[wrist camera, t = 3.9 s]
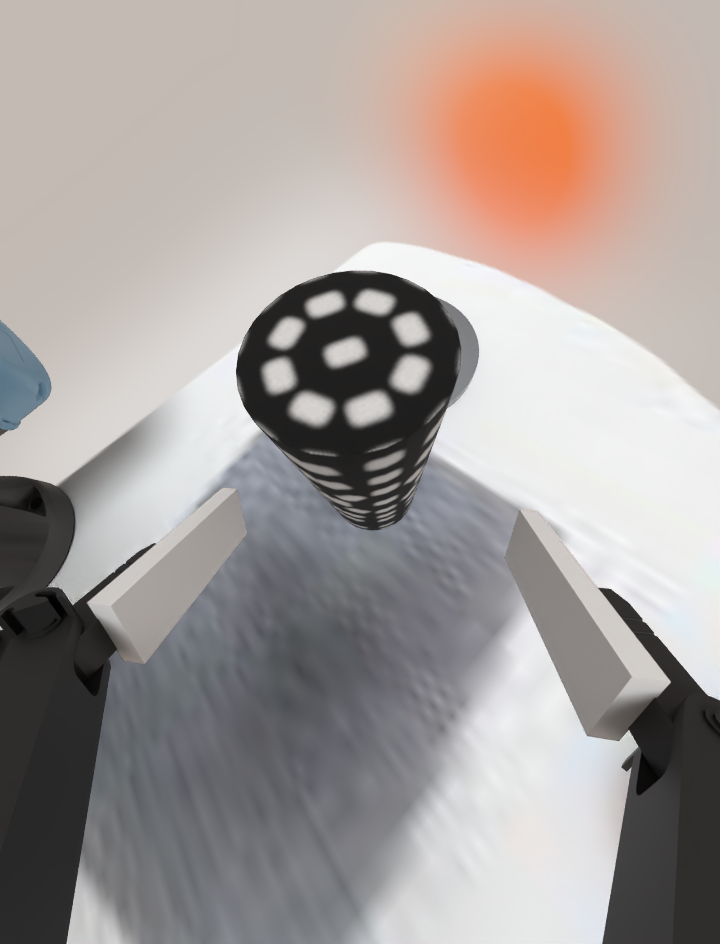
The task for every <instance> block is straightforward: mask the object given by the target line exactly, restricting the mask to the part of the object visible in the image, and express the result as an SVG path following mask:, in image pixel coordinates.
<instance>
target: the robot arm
mask: <svg viewBox="0 0 720 944" xmlns="http://www.w3.org/2000/svg"><path fill="white" fill-rule="evenodd" d="M50 392H51V381H50V378H49V376H48V374H47V372H46V370H45V368H44V367H43V365H42V364H41V362H40V361H39V360H38V359H37V357H36V356H35V355H34V354H33V353H32V351H31V350H30V349H29V348H28V347H27V346H26V345H25V344H24V343H23V342H22V341H21V340H20V339H19V338H18V337H17V336H16V335H15V334H14V333H13V332H12V331H11V330H10V329H9V328H8V327H7V326H6V325H5V324H4V323H2V322H1V320H0V435H2V434H3V433H5V432H6V431H8V430H14V429H16V428H17V427H18V426H19V424H20V421H21V420H22V419H23V418H24V417H26V416H27V415H28V414H29V413H31V412H32V411H33V410H34V409H36V408H37V407H38V406H39V405H41V404H42V403H43V402H44V401H45V400H46V399H47V398H48V396H49V395H50ZM73 527H74V516H73V510H72V506H71V504H70V501H69V499H68V498H67V496H66V495H65V493H64V492H63V491H62V490H61V489H59V488H58V487H56V486H54V485H52V484H50V483H46V482H42V481H38V480H34V479H30V478H25V477H17V476H0V626H1V627H2V629H3V630H0V944H66V942H67V936H68V930H69V924H70V918H71V911H72V905H73V899H74V893H75V886H76V880H77V874H78V868H79V862H80V855H81V849H82V843H83V837H84V830H85V824H86V818H87V812H88V806H89V799H90V793H91V787H92V781H93V775H94V768H95V762H96V756H97V750H98V743H99V737H100V731H101V725H102V719H103V712H104V706H105V700H106V694H107V688H108V681H109V675H110V669H111V665H110V661H109V659H108V658H109V657H110V656H111V655H112V654H113V653H114V652H115V651H116V650H117V651H118V652H119V654H120V656H121V657H122V659H123V660H124V661H129V662H135V663H141V664H145V663H146V662H147V660H148V659H149V658H150V657H151V655H152V654H153V653H154V652H155V650H156V649H157V648H158V646H159V645H160V644H161V643H162V641H163V640H164V639H165V638H166V636H167V635H168V634H169V632H170V631H171V630H172V629H173V627H174V626H175V625H176V624H177V622H178V621H179V620H180V618H181V617H182V616H183V615H184V613H185V612H186V611H187V610H188V608H189V607H190V606H191V604H192V603H193V602H194V601H195V599H196V598H197V597H198V596H199V594H200V593H201V592H202V590H203V589H204V588H205V587H206V585H207V584H208V583H209V581H210V580H211V579H212V578H213V576H214V575H215V574H216V573H217V571H218V570H219V569H220V567H221V566H222V565H223V564H224V562H225V561H226V560H227V559H228V557H229V556H230V555H231V553H232V552H233V551H234V550H235V548H236V547H237V546H238V545H239V543H240V542H241V541H242V539H243V538H244V537H245V536H246V534H247V531H246V527H245V522H244V518H243V514H242V509H241V505H240V500H239V496H238V491H237V489H229V488H222V489H221V490H220V491H218V492H217V493H216V494H215V495H214V496H212V497H211V498H210V499H209V500H208V501H207V502H205V503H204V504H203V505H202V506H201V507H199V508H198V509H197V510H196V511H195V512H194V513H192V514H191V515H190V516H189V517H188V518H186V519H185V520H184V521H183V522H182V523H181V524H179V525H178V526H177V527H176V528H175V529H173V530H172V531H171V532H170V533H169V534H168V535H166V536H165V537H164V538H163V539H162V540H160V541H159V542H158V543H157V544H156V543H153V544H152V545H150V546H148V547H146V548H144V549H142V550H141V551H139V552H137V553H136V554H135V555H134V556H133V557H131V558H130V559H129V560H128V561H126V564H123V565H122V566H120V567H119V568H118V569H117V570H116V572H115V573H112V574H111V575H109V576H108V577H107V578H106V579H104V580H103V581H102V582H101V583H100V584H98V585H97V586H96V587H95V588H93V589H92V590H91V591H90V592H89V593H87V594H86V595H85V596H84V597H82V598H81V599H80V600H79V601H78V602H76V603H75V604H74V605H72V604H71V602H70V601H69V599H68V598H67V596H66V595H65V594H64V592H63V591H62V590H61V589H59V588H55V587H49V588H45V587H46V586H47V585H48V584H49V582H50V581H51V580H52V579H53V577H54V576H55V574H56V573H57V571H58V570H59V568H60V566H61V565H62V563H63V561H64V559H65V557H66V554H67V552H68V549H69V546H70V543H71V539H72V535H73ZM505 559H506V561H507V564H508V566H509V568H510V570H511V572H512V574H513V577H514V579H515V581H516V583H517V585H518V587H519V590H520V592H521V594H522V596H523V598H524V600H525V603H526V605H527V607H528V609H529V611H530V614H531V616H532V618H533V620H534V622H535V624H536V627H537V629H538V631H539V633H540V635H541V637H542V640H543V642H544V644H545V646H546V648H547V650H548V653H549V655H550V657H551V659H552V661H553V663H554V666H555V668H556V670H557V672H558V674H559V676H560V679H561V681H562V683H563V685H564V687H565V689H566V692H567V694H568V696H569V698H570V700H571V702H572V705H573V707H574V709H575V711H576V713H577V715H578V718H579V720H580V722H581V724H582V726H583V728H584V731H585V733H586V735H587V736H591V737H597V738H603V739H609V740H615V741H619V740H620V739H621V738H622V737H623V736H624V735H625V733H626V732H627V731H628V730H629V731H630V732H631V734H632V736H633V737H634V739H635V741H636V743H637V744H638V746H639V747H638V748H637V749H636V750H635V751H634V752H633V753H632V754H631V755H630V756H629V757H628V758H627V759H626V760H625V762H624V763H623V765H622V768H623V769H624V770H625V771H628V770H629V769H630V768H631V767H632V769H631V775H630V781H629V787H628V793H627V799H626V805H625V811H624V817H623V823H622V829H621V835H620V841H619V847H618V853H617V859H616V865H615V871H614V877H613V883H612V889H611V895H610V901H609V907H608V913H607V919H606V925H605V931H604V937H603V943H602V944H720V701H719V700H717V699H715V698H713V697H710V696H708V695H707V694H706V693H705V692H704V691H703V690H702V689H701V688H700V686H699V685H698V684H697V683H696V682H695V681H694V679H693V678H692V677H691V676H690V675H689V673H688V672H687V671H686V670H685V669H684V668H683V666H682V665H681V664H680V663H679V662H678V660H677V659H676V658H675V657H674V656H673V655H672V653H671V652H670V651H669V650H668V649H667V647H666V646H665V645H664V644H663V643H662V642H661V640H660V639H659V638H658V637H657V636H655V635H654V632H653V631H652V630H651V629H650V627H649V626H648V625H647V624H646V623H645V622H643V621H642V618H641V617H640V616H639V614H638V613H637V612H636V611H635V610H634V609H633V607H632V606H631V605H630V604H629V603H628V602H627V601H625V600H624V599H623V598H622V597H620V596H619V595H618V594H616V593H615V592H614V591H613V590H611V589H605V588H598V587H597V586H596V585H595V583H594V582H593V581H592V580H591V578H590V577H589V576H588V574H587V573H586V572H585V571H584V569H583V568H582V567H581V565H580V564H579V563H578V561H577V560H576V559H575V558H574V556H573V555H572V554H571V552H570V551H569V550H568V549H567V547H566V546H565V545H564V543H563V542H562V541H561V540H560V538H559V537H558V536H557V534H556V533H555V532H554V531H553V529H552V528H551V527H550V525H549V524H548V523H547V522H546V520H545V519H544V518H543V516H542V515H541V514H540V512H539V511H532V510H519V513H518V516H517V519H516V523H515V526H514V529H513V532H512V536H511V539H510V542H509V546H508V549H507V552H506V555H505Z"/></svg>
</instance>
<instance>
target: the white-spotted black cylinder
mask: <svg viewBox="0 0 720 944" xmlns="http://www.w3.org/2000/svg"><path fill="white" fill-rule="evenodd" d="M460 367H461V344H460V339H459V334H458V330H457V328H456V326H455V324H454V322H453V320H452V318H451V315H450V314H449V313H448V311H447V310H446V309H445V308H444V306H443V305H442V304H441V303H440V301H439V300H438V299H436V298H435V297H434V296H433V295H432V294H430V293H429V292H428V291H427V290H425V289H424V288H422V287H420V286H418V285H417V284H415V283H413V282H411V281H409V280H407V279H404V278H401V277H398V276H395V275H392V274H387V273H381V272H375V271H346V272H338V273H331V274H328V275H324V276H320V277H317V278H313V279H311V280H309V281H306V282H304V283H302V284H299V285H297V286H295V287H294V288H292V289H290V290H289V291H287V292H285V293H284V294H282V295H280V296H279V297H278V298H277V299H276V300H274V301H273V302H272V303H271V304H270V305H268V306H267V307H266V308H265V309H264V310H263V311H262V313H261V314H260V315H259V316H258V317H257V318H256V319H255V321H254V322H253V323H252V325H251V327H250V328H249V330H248V332H247V334H246V335H245V337H244V340H243V342H242V345H241V348H240V351H239V353H238V360H237V368H236V377H237V386H238V391H239V394H240V397H241V400H242V402H243V405H244V407H245V409H246V410H247V412H248V413H249V415H250V416H251V418H252V419H253V421H254V422H255V423H256V424H257V425H258V427H259V428H260V429H261V430H262V431H263V432H264V433H265V434H266V435H267V436H268V437H269V438H270V439H271V440H272V442H273V443H274V444H275V445H276V446H277V447H278V448H279V449H280V450H281V451H282V452H283V453H284V454H285V455H286V456H287V458H288V459H289V460H290V461H291V462H292V463H293V464H294V465H295V466H296V467H297V468H298V469H299V470H300V471H301V473H302V474H303V475H304V476H305V477H306V478H307V479H308V480H309V481H310V482H311V483H312V484H313V485H314V486H315V488H316V489H317V490H318V491H319V492H320V493H321V494H322V495H323V496H324V497H325V498H326V499H327V500H328V501H329V502H330V504H331V505H332V506H333V507H334V508H335V509H336V510H337V511H338V512H339V513H340V514H341V515H342V516H343V517H344V518H345V519H346V520H347V521H348V522H349V523H351V524H352V525H354V526H356V527H359V528H361V529H366V530H380V529H384V528H388V527H390V526H392V525H394V524H395V523H397V522H398V521H399V520H401V519H402V517H403V516H404V515H405V514H406V512H407V511H408V509H409V507H410V505H411V502H412V499H413V497H414V494H415V491H416V489H417V486H418V483H419V481H420V478H421V475H422V473H423V470H424V467H425V465H426V462H427V460H428V457H429V454H430V452H431V449H432V446H433V444H434V441H435V438H436V436H437V433H438V430H439V428H440V425H441V422H442V420H443V417H444V414H445V412H446V409H447V406H448V404H449V401H450V398H451V396H452V393H453V390H454V388H455V384H456V381H457V378H458V375H459V371H460Z"/></svg>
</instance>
